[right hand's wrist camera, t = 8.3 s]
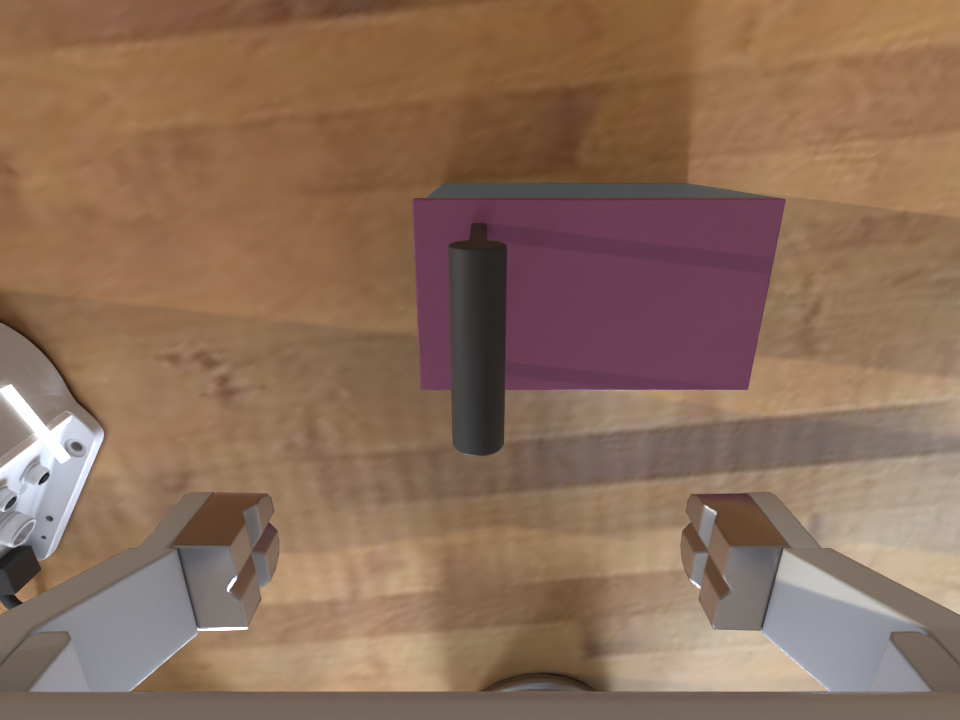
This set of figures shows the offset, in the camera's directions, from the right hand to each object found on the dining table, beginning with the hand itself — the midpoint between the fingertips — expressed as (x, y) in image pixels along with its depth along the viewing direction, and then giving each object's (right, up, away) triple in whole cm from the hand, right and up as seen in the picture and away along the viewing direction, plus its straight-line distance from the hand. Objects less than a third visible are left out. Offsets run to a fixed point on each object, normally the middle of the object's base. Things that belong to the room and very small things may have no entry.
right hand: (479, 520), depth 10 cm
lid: (+5, +6, +16) cm, 18 cm away
